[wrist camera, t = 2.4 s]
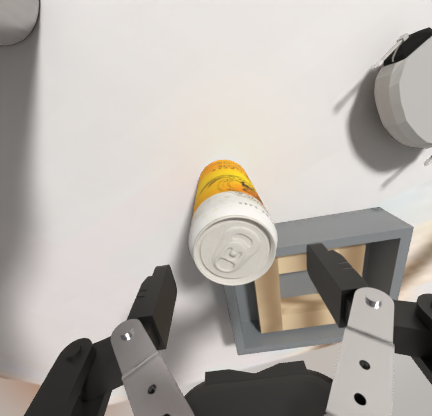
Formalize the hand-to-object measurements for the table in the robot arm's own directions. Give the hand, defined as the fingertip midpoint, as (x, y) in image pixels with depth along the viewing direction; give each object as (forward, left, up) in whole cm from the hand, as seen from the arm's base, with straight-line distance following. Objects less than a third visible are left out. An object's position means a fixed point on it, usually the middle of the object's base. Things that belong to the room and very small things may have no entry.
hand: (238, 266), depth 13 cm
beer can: (0, 0, -16) cm, 16 cm away
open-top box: (+9, -16, -16) cm, 24 cm away
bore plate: (+9, -16, -15) cm, 24 cm away
